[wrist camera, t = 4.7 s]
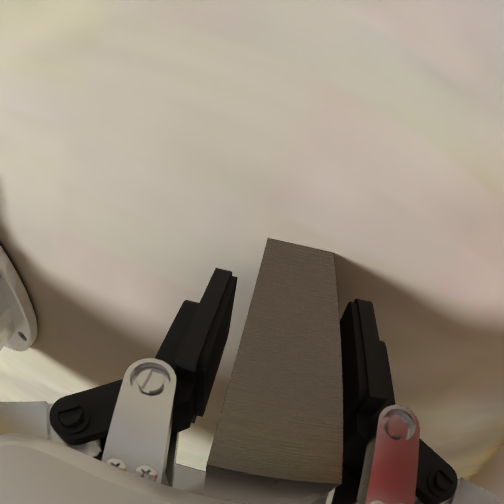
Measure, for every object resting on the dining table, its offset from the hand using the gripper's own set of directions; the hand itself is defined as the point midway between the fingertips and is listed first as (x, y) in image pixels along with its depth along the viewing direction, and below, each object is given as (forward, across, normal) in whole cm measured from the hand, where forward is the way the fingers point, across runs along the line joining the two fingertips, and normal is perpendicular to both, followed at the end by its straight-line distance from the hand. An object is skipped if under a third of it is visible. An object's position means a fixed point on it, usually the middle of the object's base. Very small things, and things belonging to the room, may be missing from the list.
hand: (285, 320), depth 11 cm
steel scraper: (+2, 0, +7) cm, 7 cm away
